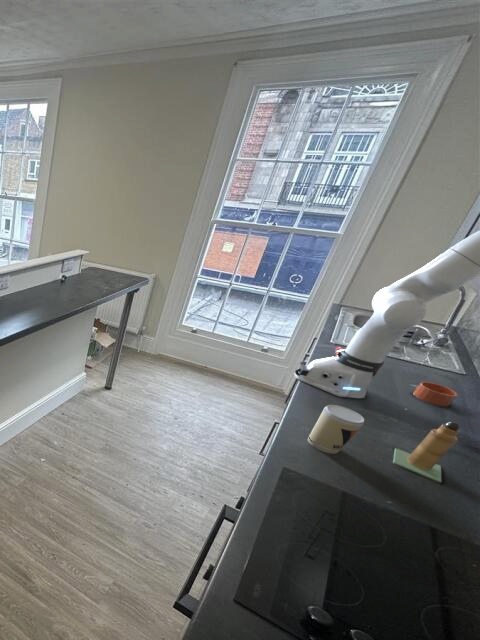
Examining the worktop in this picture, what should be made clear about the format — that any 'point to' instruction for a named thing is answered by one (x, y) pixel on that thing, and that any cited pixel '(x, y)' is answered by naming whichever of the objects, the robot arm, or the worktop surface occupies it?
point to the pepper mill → (434, 446)
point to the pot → (435, 393)
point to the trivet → (401, 461)
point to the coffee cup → (335, 428)
